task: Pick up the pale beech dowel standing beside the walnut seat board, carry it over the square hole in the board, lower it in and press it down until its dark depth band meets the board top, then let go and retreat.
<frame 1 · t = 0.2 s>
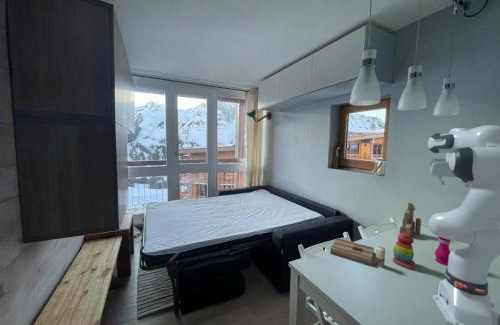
hand: (454, 185, 106), 48 cm above the table, fingers open, 8 cm apart
pepper mill: (442, 262, 120), on the table
board: (352, 253, 128), on the table
peg: (379, 265, 115), on the table
wooden toy: (410, 235, 158), on the table
stacking bear: (403, 263, 118), on the table
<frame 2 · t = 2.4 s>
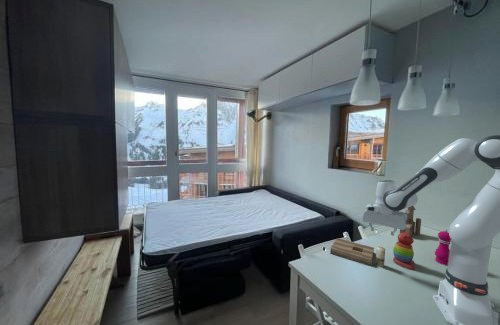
hand: (382, 232, 114), 19 cm above the table, fingers open, 8 cm apart
nothing on the table moved.
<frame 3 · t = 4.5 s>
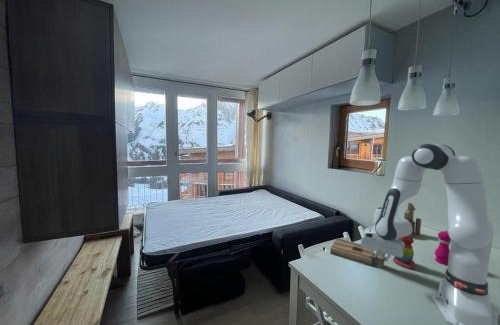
hand: (380, 259, 115), 4 cm above the table, fingers closed on peg, 4 cm apart
peg: (379, 265, 115), on the table, touching gripper
everything else where it was.
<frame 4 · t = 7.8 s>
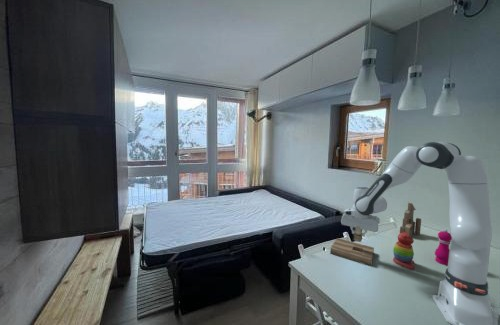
hand: (358, 234, 125), 13 cm above the table, fingers closed on peg, 4 cm apart
peg: (357, 240, 125), point 9 cm above the table, touching gripper
everything else where it was.
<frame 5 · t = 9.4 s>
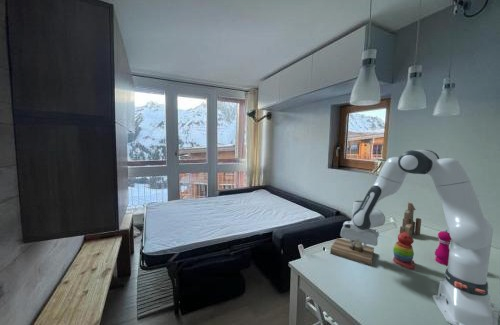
hand: (357, 247, 126), 4 cm above the table, fingers closed on peg, 4 cm apart
peg: (357, 253, 126), point 1 cm above the table, touching gripper
everything else where it was.
when the fingers open (4 cm above the table, at t = 10.6 s): peg stays where it is, resting in board.
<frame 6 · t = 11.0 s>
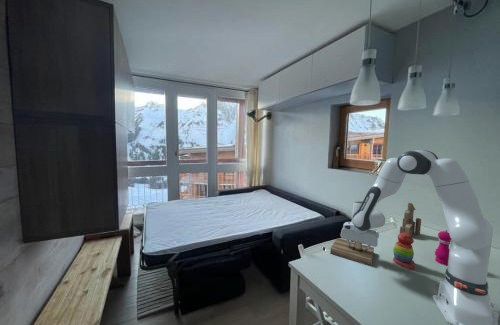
hand: (357, 248, 126), 4 cm above the table, fingers open, 8 cm apart
peg: (357, 254, 126), resting in board
everything else where it was.
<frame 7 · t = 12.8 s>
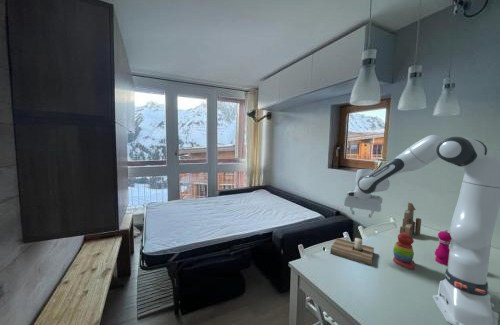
hand: (361, 215, 126), 24 cm above the table, fingers open, 8 cm apart
nothing on the table moved.
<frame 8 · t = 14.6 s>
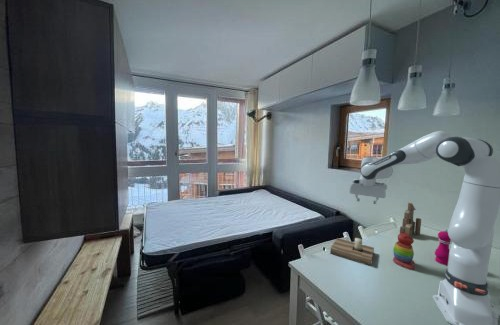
hand: (366, 202, 131), 31 cm above the table, fingers open, 8 cm apart
nothing on the table moved.
at the end: peg 0.1 cm from the target spot on the board, point 0.0 cm above the board's base; peg tilted 0°; the gripper is holding nothing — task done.
